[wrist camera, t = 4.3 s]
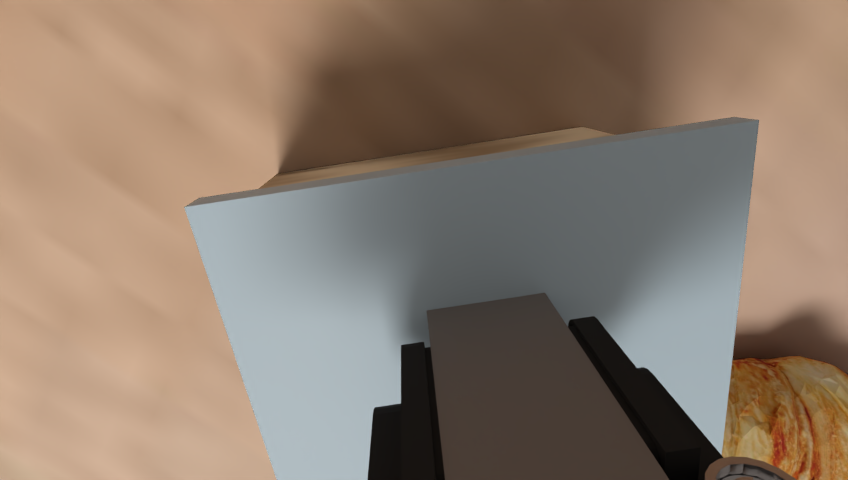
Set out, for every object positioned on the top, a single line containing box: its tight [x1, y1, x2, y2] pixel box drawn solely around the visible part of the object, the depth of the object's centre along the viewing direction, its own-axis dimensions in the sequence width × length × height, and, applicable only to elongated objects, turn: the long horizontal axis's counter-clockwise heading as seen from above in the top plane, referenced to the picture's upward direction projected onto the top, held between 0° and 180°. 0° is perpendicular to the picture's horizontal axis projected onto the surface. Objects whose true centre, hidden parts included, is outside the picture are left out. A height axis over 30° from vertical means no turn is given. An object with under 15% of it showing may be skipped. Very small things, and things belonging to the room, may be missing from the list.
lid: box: [184, 117, 759, 480], centre depth 9 cm, size 13×10×8 cm
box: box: [259, 127, 614, 189], centre depth 16 cm, size 12×9×6 cm
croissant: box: [722, 356, 848, 480], centre depth 21 cm, size 21×10×8 cm, turn 82°
